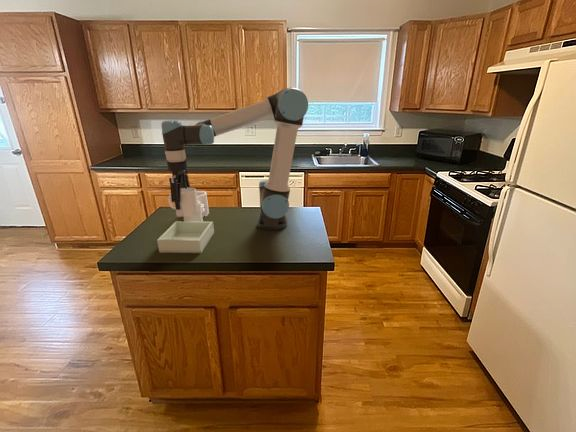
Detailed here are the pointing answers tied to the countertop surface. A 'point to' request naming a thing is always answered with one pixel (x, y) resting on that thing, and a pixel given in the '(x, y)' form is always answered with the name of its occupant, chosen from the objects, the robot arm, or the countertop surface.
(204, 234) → the tub
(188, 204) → the cup
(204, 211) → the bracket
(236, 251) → the countertop surface
